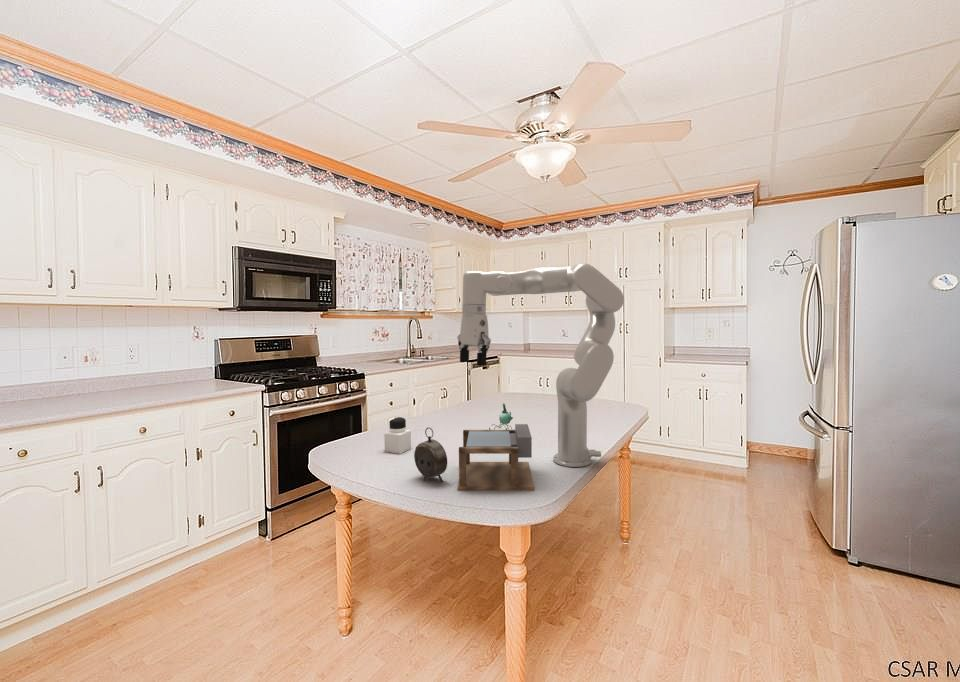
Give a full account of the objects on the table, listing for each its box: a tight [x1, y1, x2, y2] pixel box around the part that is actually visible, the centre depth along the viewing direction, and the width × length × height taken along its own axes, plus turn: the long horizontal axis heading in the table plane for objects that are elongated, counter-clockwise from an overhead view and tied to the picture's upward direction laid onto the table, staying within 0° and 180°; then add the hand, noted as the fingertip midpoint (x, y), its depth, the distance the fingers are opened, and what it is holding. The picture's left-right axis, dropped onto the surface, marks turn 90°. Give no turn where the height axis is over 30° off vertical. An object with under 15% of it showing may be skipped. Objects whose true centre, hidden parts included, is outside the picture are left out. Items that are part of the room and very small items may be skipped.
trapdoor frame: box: [456, 429, 535, 491], centre depth 138 cm, size 22×21×12 cm
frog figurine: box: [488, 403, 514, 430], centre depth 181 cm, size 10×18×15 cm, turn 101°
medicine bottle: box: [383, 416, 412, 455], centre depth 165 cm, size 7×7×12 cm
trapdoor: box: [466, 423, 533, 459], centre depth 137 cm, size 19×16×6 cm
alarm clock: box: [413, 426, 448, 483], centre depth 135 cm, size 11×5×16 cm, turn 48°
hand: (472, 363), depth 143 cm, fingers open, 9 cm apart
